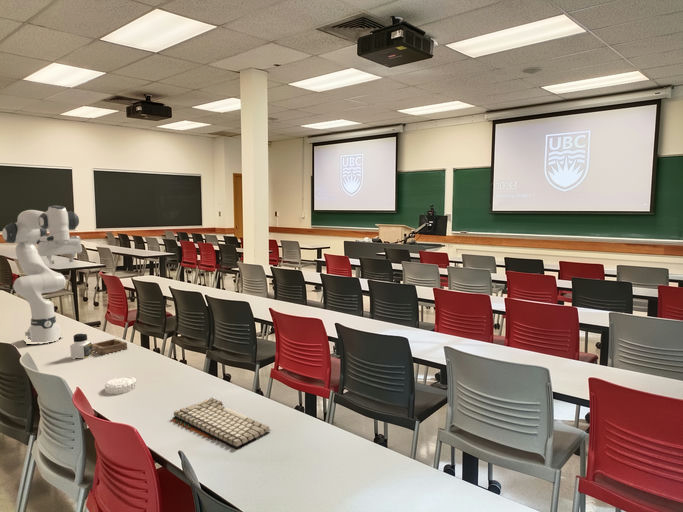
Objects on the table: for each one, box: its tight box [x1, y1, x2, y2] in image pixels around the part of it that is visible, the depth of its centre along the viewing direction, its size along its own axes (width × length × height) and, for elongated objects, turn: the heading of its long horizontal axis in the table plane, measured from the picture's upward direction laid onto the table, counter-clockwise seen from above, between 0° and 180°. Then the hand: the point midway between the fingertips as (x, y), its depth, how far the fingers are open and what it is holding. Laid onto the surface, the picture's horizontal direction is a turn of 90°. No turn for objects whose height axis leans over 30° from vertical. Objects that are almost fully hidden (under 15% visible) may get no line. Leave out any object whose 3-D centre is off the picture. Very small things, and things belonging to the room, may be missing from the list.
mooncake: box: [104, 376, 137, 395], centre depth 199 cm, size 12×12×4 cm
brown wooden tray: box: [91, 338, 128, 356], centre depth 253 cm, size 13×13×4 cm
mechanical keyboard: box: [170, 397, 271, 450], centre depth 166 cm, size 38×19×3 cm, turn 52°
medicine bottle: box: [69, 332, 93, 359], centre depth 242 cm, size 7×7×12 cm
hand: (61, 263), depth 247 cm, fingers open, 8 cm apart
